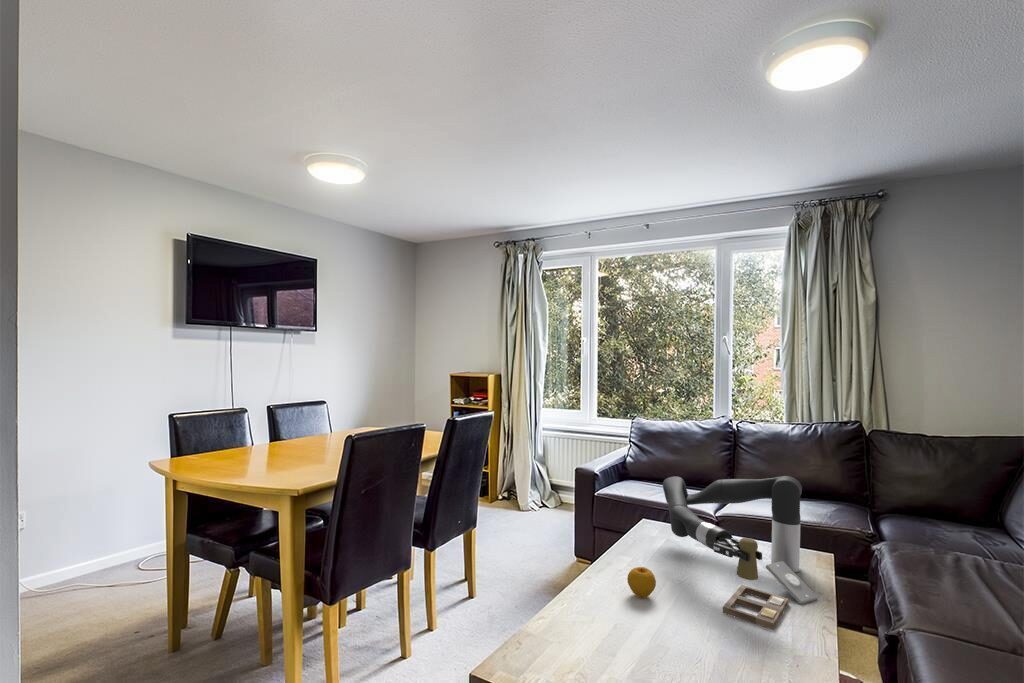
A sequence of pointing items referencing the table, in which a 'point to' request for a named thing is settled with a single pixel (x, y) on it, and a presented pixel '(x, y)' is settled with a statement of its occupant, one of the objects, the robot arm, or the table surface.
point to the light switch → (791, 582)
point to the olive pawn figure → (749, 568)
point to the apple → (641, 581)
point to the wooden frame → (757, 606)
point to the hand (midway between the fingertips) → (755, 557)
